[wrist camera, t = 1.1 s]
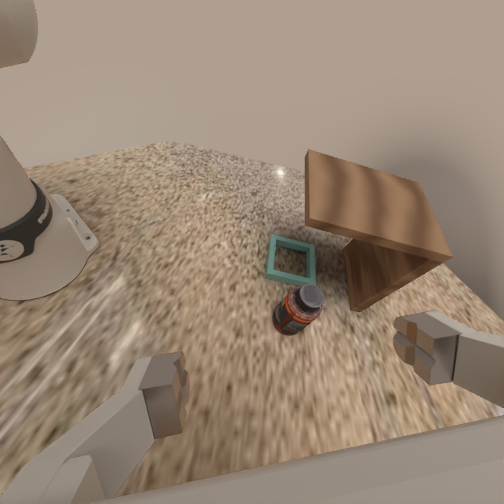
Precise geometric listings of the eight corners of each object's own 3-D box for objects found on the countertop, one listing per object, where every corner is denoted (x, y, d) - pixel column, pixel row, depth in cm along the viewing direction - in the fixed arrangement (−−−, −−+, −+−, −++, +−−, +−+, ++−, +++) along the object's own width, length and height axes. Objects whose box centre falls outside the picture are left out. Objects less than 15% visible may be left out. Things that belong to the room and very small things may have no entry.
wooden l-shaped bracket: (264, 290, 47) (309, 218, 30) (270, 230, 57) (308, 149, 39) (359, 312, 49) (453, 256, 32) (350, 251, 59) (419, 183, 42)
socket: (264, 277, 49) (267, 273, 47) (268, 239, 55) (271, 233, 53) (311, 289, 50) (316, 284, 48) (311, 249, 56) (314, 245, 54)
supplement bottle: (306, 331, 44) (337, 310, 35) (278, 339, 42) (303, 318, 33) (294, 302, 47) (320, 275, 38) (267, 308, 45) (288, 281, 36)
